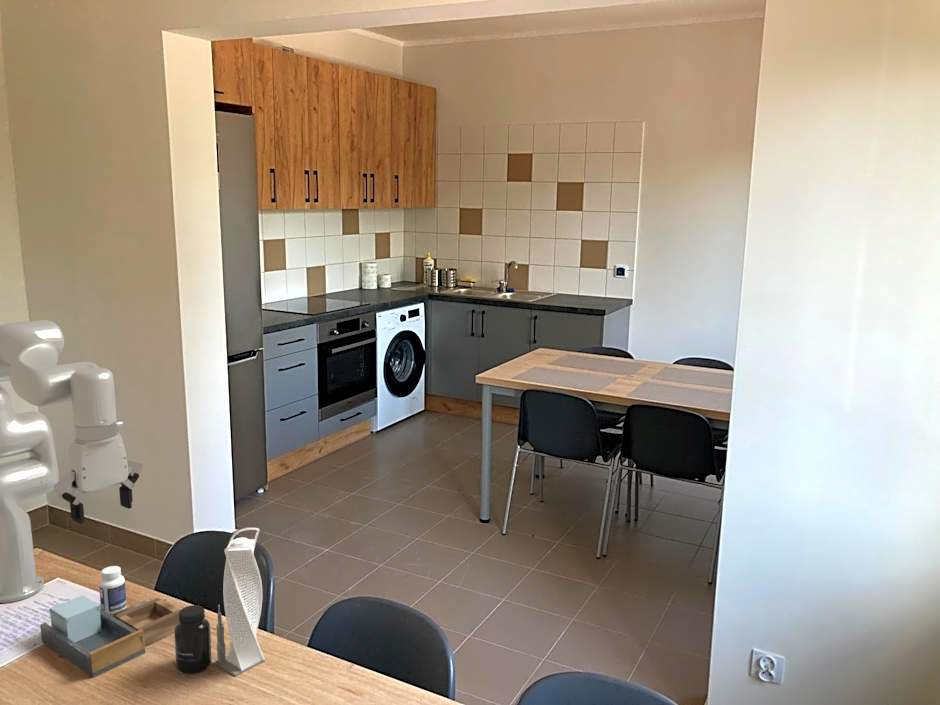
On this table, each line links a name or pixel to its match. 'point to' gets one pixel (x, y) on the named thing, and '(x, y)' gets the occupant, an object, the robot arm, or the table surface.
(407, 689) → the table surface
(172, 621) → the open wooden box
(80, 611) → the pale teal block
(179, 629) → the supplement bottle
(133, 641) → the bay
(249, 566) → the skyscraper
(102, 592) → the pill bottle
